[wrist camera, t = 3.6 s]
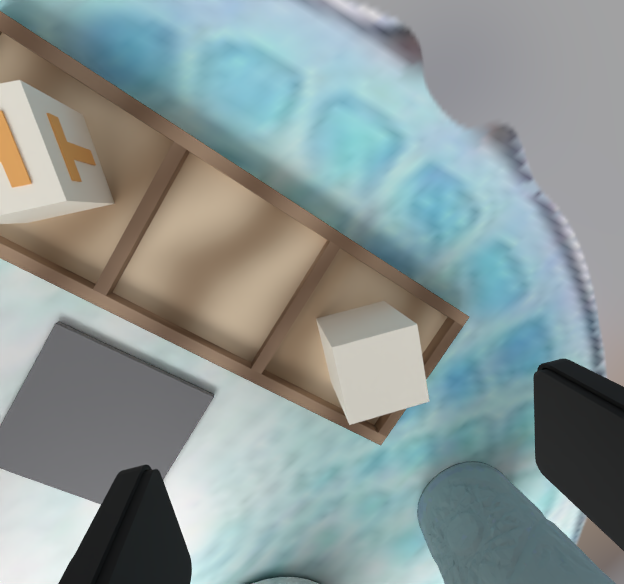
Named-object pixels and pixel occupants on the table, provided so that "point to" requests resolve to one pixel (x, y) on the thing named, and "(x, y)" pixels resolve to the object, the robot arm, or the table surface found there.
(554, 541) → the grey green pot
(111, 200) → the letter block
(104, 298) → the tray board
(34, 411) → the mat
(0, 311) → the table surface
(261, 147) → the table surface
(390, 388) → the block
